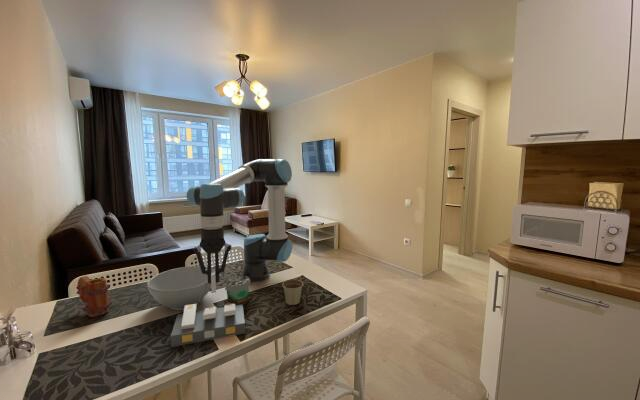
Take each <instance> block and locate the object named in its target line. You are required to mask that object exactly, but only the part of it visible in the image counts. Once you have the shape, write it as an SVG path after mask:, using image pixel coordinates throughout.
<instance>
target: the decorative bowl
mask: <svg viewBox="0 0 640 400" xmlns="http://www.w3.org/2000/svg"><path fill="white" fill-rule="evenodd" d="M205 268H206V269H207V266H205ZM211 270H212V271H211V273H214V272H215V269H213V268H211ZM146 286H147V290H148V292H149V293H150V294H151V296H152V297H153V298H154V300H155V301H157V302H158V303H159V304H160V305H162V306H165V307H168V308H169V309H170V310H172V311H184V307H185V305H191V304H197V305H198V304H199V303H200V301H201V300H202V299H204V298H205V297H206V296H207V295H208V293H209V292H210V291H211V283H209V284H208V275H207V274H202V271H201V268H200V265H197V266H196V265H193V266H191V265H190V266H182V267H177V268H173V269H168V270H166V271H162V272H160V273H157V274H155V275H154V276H153V277H150V279H149V280H148V281H147V283H146Z"/></svg>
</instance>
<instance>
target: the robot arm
mask: <svg viewBox="0 0 640 400" xmlns="http://www.w3.org/2000/svg"><path fill="white" fill-rule="evenodd" d="M292 177H293V173H292V167H291V164H290V162H288V160H287V159H283V158H282V159H281V158H265V159H264V158H259V159H258V158H257V159H255V160H254V159H253V160H252V161H249V162H247V163H243V164H242V165H240V166H238V168H237V170H234V171H232V172H230V173H228V174H226V175H223V176H221V177H218V178H217V179H214V180H212V181H211V182H209V183H202V184H200V186H192V187H190V188H188V190H187V192H186V200H187V202H188V203H189V204H190V205H192V206H198V207H200V227H201V228H200V241H199V244H198V245H196V246H194V247H193V249H192V252H193V253H194V254H195V255H196V259H197V262H198V263H199V264H198V266H200V268H201V271H202V274H207V275H208V284H209V283H211V289H210V291H211V292H210V293H211V294H215V293H217V283H220V273H223V272H225V269H226V265H227V261H228V256H229V252H230V251H231V249H232V244H229V243H227V242H226V240H225V236H224V235H225V234H224V233H225V228H224V225H225V223H224V221H225V220H224V209H231V208H236V207H239V206H241V205H243V204H244V201H245V198H246V197H245V193H244V191H243V190H242V189H241V188H240V187H241V186H243V185H245V184H251V183H253V182H264V186H265V187H266V188H267V202H268V207H267V208H268V209H267V210H268V212H267V213H268V234H267V235H266V234H265V233H258V234H257V233H256V234H252V235H248V236H246V237H244V239H243V256H244V257H243V259H244V261H243V262H244V264H243V266H242V270H241V280H243V279H245V278H246V276H247V277H248V278H249V279H250V282H259V281H263V280H266V279H267V278H269V276H270V270H269V267H268V264H267V261H273V262H277V263H279V262H280V263H281V262H282V263H283V262H286V261H288V260H289V258H290V257H291V254H292V251H293V242H292V240H290V239H289V235H288V234H287V233H286V202H285V201H286V200H285V199H286V196H285V195H286V192H285V191H286V190H285V189H286V188H287V186H288V183H289V182H291V180H292ZM223 248H224V253H223V257H222V261H221V266H220V260H219V259H220V258H219V257H220V256H219V254H220V252H221V250H222V249H223ZM202 250H203V251H204V252H205V253H206V258H207V259H206V260H207V262H206V264H207V265H205V261H204V259H203V255H202ZM212 254H214V271H215V272H214V273H211V271H212V270H211V269H212ZM205 267H207V269H206V268H205Z"/></svg>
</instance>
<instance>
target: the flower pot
mask: <svg viewBox="0 0 640 400" xmlns="http://www.w3.org/2000/svg"><path fill="white" fill-rule="evenodd" d="M281 284H282V285H281V286H282V287H283V288H282V289H283V290H284V296H285V297H284V298H285V303H286V304H287V305H290V306H293V305H294V306H295V305H298V304H300V301H301V295H302V294H301V293H302V288H303V286H304V282H303V281H302V280H299V279H287V280H285V281H283V282H282V283H281Z"/></svg>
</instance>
